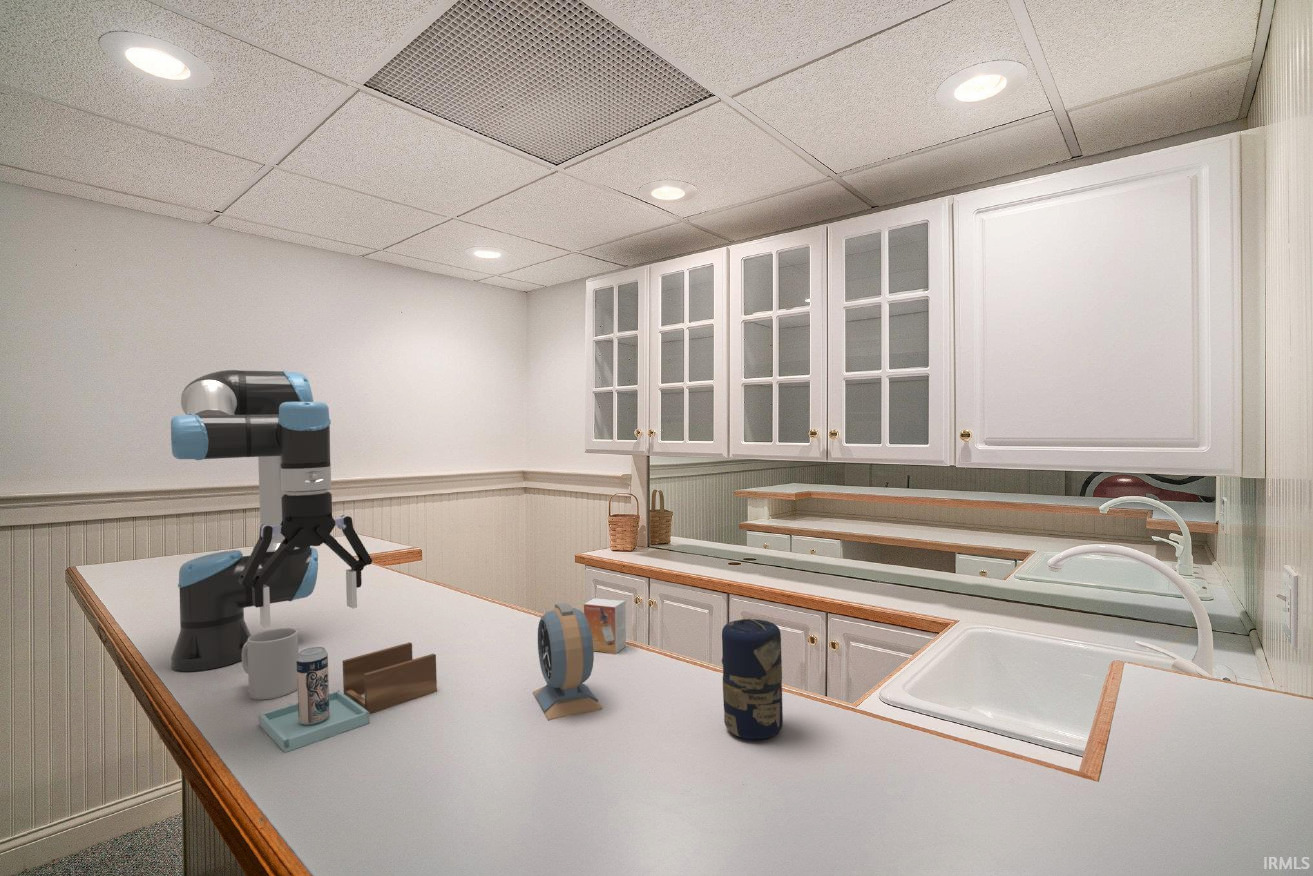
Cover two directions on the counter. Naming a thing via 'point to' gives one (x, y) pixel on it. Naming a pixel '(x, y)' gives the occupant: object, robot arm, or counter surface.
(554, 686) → the alarm clock
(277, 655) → the mug
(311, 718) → the beer can
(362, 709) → the tray
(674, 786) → the counter surface
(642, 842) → the counter surface
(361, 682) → the cradle
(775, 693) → the canister
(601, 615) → the small box
